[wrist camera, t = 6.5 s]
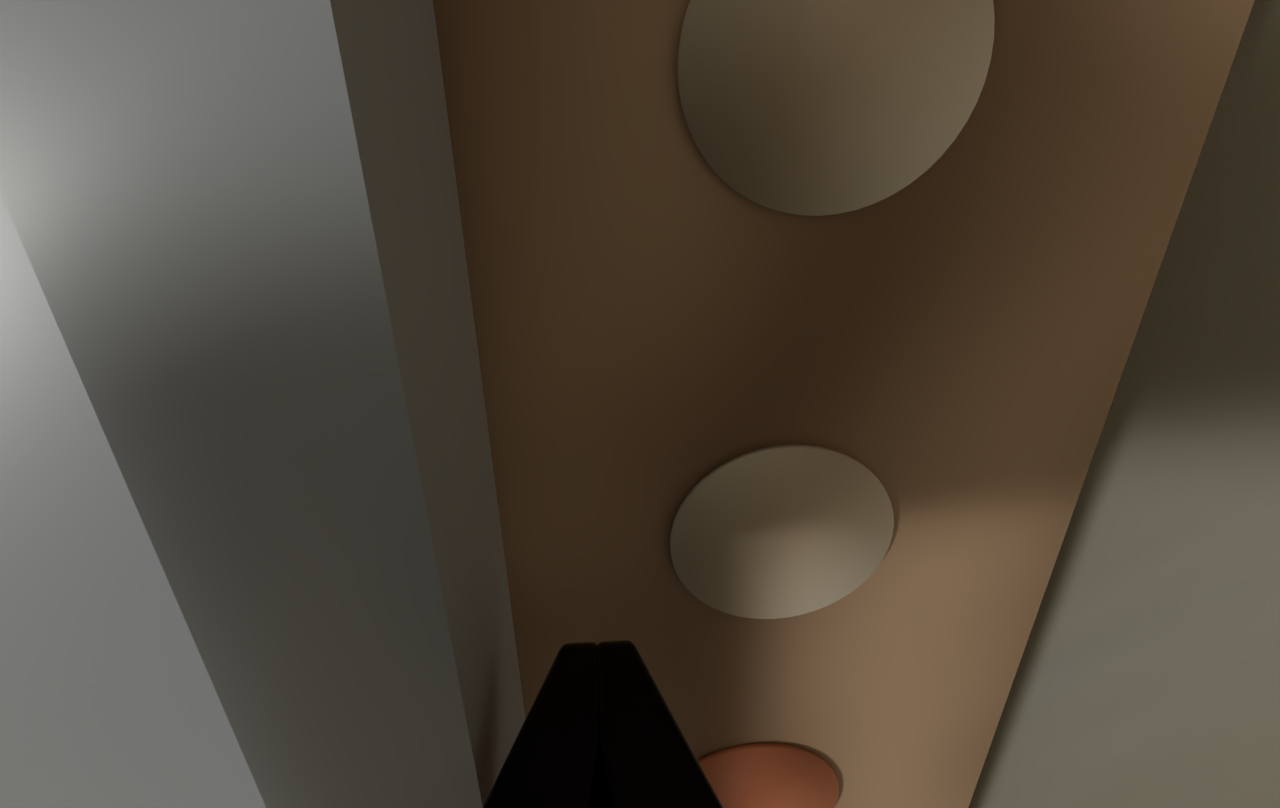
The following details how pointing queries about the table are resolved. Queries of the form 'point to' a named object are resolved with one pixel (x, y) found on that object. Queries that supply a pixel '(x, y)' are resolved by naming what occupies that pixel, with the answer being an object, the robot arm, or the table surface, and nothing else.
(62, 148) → the sliding cover
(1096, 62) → the plate
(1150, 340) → the table surface
